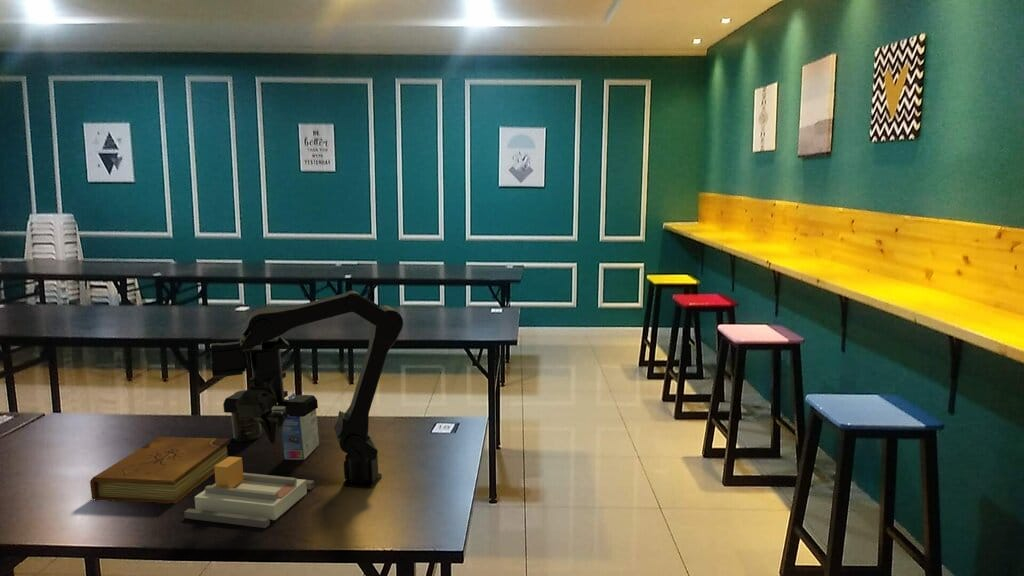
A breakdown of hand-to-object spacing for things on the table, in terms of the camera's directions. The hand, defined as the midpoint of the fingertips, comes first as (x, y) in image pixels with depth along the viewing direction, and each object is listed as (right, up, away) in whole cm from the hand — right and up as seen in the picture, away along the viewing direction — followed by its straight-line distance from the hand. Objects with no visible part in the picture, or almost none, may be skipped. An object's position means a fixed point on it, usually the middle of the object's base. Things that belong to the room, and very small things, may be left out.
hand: (274, 443), depth 147 cm
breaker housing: (-4, -12, -1) cm, 13 cm away
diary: (-28, -11, +11) cm, 32 cm away
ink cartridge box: (-2, -8, +25) cm, 26 cm away
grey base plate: (-4, -12, -1) cm, 13 cm away
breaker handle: (-9, -9, 0) cm, 13 cm away
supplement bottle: (-19, -6, +35) cm, 40 cm away
